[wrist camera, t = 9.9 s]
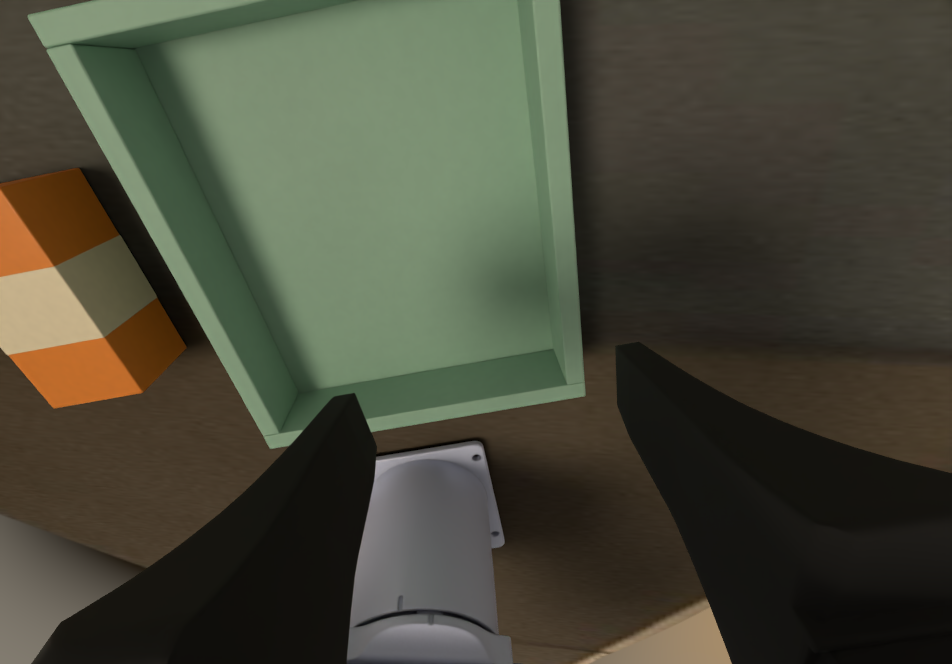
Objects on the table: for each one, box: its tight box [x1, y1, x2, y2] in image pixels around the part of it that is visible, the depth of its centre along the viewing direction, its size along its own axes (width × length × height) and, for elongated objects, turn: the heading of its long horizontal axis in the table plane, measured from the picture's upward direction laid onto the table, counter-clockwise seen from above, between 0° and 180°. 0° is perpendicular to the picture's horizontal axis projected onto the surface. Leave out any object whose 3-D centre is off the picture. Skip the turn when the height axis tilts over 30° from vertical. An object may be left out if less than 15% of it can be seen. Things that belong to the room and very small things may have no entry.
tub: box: [28, 0, 585, 449], centre depth 18 cm, size 17×15×4 cm
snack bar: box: [0, 168, 187, 408], centre depth 18 cm, size 8×4×4 cm, turn 10°
